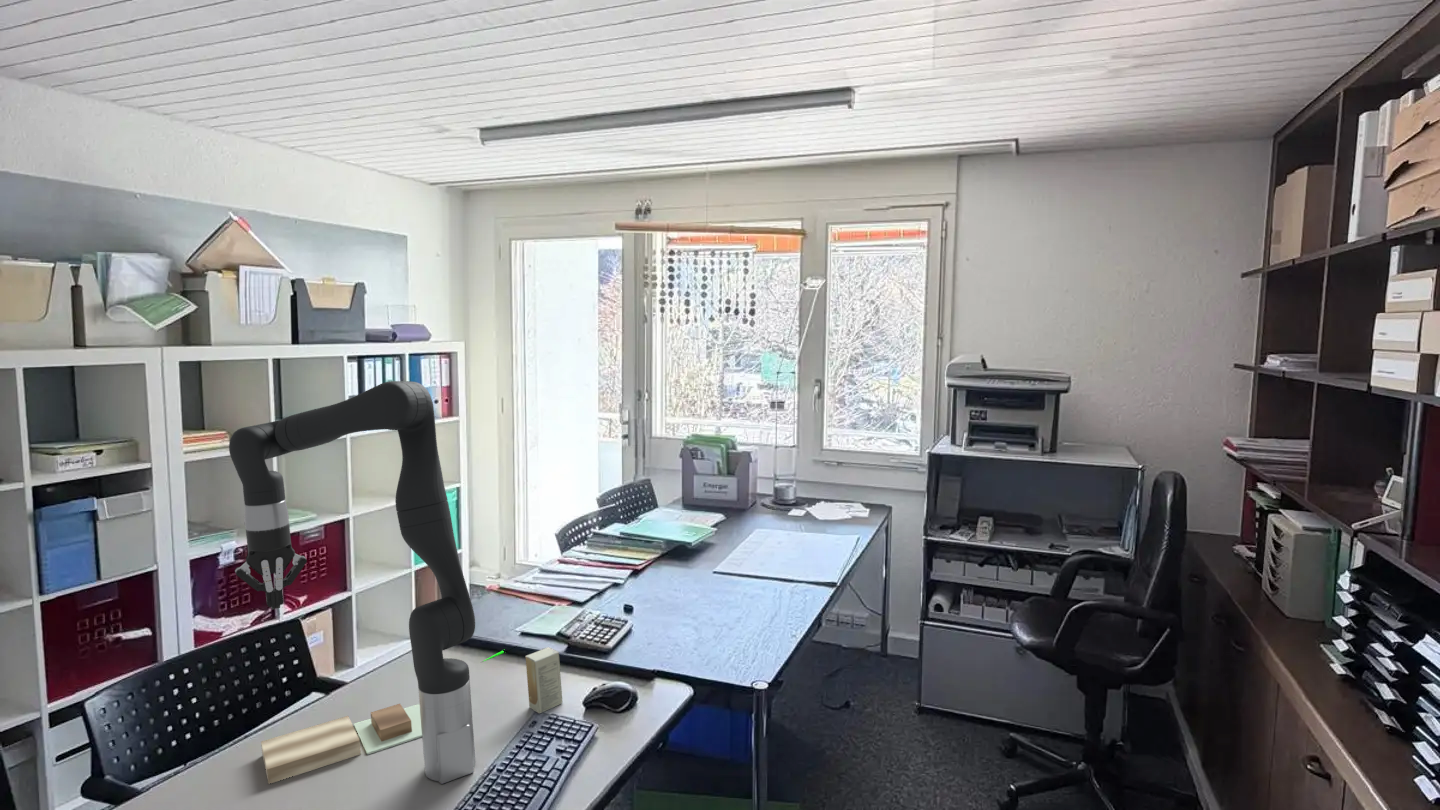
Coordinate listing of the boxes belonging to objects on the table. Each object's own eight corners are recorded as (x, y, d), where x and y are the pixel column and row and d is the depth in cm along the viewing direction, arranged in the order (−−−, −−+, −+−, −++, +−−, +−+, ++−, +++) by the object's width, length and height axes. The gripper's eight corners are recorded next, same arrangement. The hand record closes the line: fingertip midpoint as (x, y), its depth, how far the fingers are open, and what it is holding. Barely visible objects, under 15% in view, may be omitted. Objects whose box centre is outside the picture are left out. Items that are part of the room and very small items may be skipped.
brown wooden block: (380, 730, 157) (381, 741, 157) (411, 720, 161) (412, 731, 161) (370, 712, 164) (371, 723, 165) (400, 703, 168) (400, 714, 168)
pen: (525, 644, 204) (524, 641, 204) (481, 664, 193) (480, 661, 193) (522, 643, 205) (522, 640, 205) (478, 664, 193) (478, 660, 193)
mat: (467, 721, 165) (467, 720, 165) (367, 754, 153) (367, 752, 153) (448, 696, 176) (448, 694, 176) (353, 725, 165) (353, 723, 165)
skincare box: (552, 697, 175) (549, 645, 173) (563, 703, 172) (560, 651, 170) (527, 707, 170) (524, 655, 169) (538, 714, 167) (534, 661, 166)
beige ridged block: (360, 754, 154) (359, 740, 153) (268, 784, 144) (267, 769, 144) (349, 728, 163) (348, 715, 163) (262, 755, 154) (260, 741, 154)
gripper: (229, 534, 146) (238, 621, 148) (307, 521, 154) (315, 605, 156) (227, 526, 152) (236, 610, 154) (302, 514, 160) (309, 594, 162)
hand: (275, 607), depth 155 cm, fingers closed
